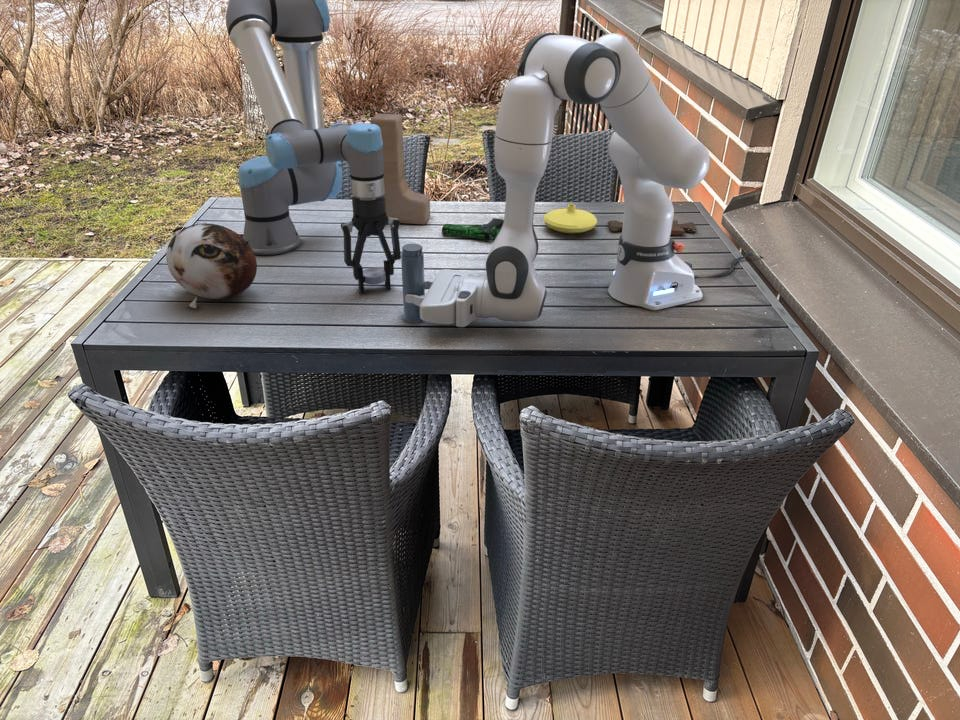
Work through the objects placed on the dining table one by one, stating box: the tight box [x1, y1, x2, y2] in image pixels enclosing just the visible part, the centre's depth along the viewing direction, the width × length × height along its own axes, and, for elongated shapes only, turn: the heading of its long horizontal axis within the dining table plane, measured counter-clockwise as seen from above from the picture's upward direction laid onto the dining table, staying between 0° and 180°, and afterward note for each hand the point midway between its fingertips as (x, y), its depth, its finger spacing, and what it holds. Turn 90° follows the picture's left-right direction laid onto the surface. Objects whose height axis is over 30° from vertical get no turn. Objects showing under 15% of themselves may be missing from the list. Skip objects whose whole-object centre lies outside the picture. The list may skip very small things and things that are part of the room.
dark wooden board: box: [607, 219, 697, 235], centre depth 211 cm, size 26×2×10 cm
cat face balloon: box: [165, 222, 258, 309], centre depth 165 cm, size 22×18×20 cm
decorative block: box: [370, 113, 431, 225], centre depth 208 cm, size 8×15×30 cm, turn 82°
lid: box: [363, 267, 387, 285], centre depth 172 cm, size 6×6×2 cm
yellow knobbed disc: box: [543, 203, 598, 234], centre depth 209 cm, size 16×16×7 cm
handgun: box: [441, 217, 504, 242], centre depth 207 cm, size 16×3×15 cm
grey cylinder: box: [400, 243, 426, 323], centre depth 157 cm, size 5×5×17 cm
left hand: (374, 288), depth 173 cm, fingers closed on lid, 6 cm apart
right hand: (409, 291), depth 158 cm, fingers closed on grey cylinder, 5 cm apart
